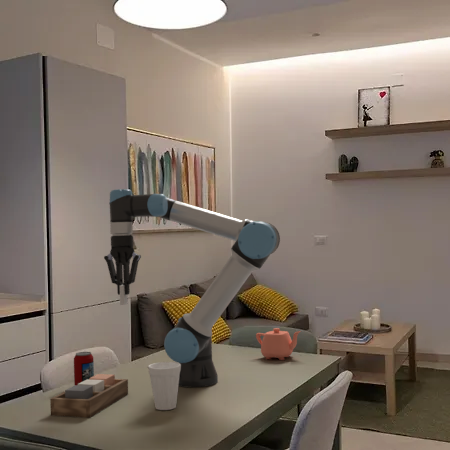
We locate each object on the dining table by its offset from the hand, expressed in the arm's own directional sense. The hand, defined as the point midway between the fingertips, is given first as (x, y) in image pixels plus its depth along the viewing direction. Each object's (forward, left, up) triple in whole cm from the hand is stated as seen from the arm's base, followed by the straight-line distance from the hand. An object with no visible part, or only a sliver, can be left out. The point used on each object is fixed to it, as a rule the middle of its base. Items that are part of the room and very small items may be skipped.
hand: (123, 304), depth 209 cm
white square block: (+4, +17, -26) cm, 32 cm away
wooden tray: (+4, +17, -29) cm, 34 cm away
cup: (-21, +17, -30) cm, 40 cm away
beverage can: (+17, -2, -30) cm, 34 cm away
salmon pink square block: (+4, +10, -26) cm, 28 cm away
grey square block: (+4, +25, -26) cm, 36 cm away
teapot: (-41, -60, -30) cm, 79 cm away
